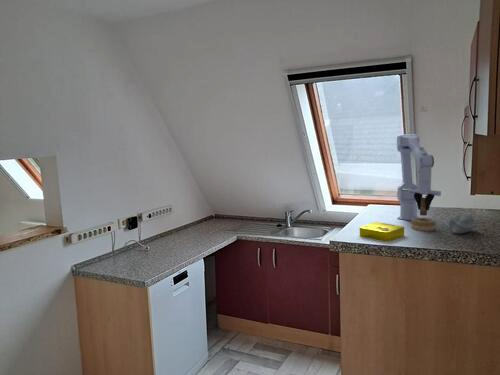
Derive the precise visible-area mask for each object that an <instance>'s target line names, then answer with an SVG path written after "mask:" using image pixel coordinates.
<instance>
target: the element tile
mask: <svg viewBox="0 0 500 375" xmlns="http://www.w3.org/2000/svg"><path fill="white" fill-rule="evenodd" d="M359 237H362V238H366V239H372V240H376V241H381V242H392V241H395V240H398V239H400V238H402V237H405V226H404V225H403V226H402V225H398V224H392V223H386V222H378V221H375V222H372V223H369V224H365V225H362V226H360V227H359Z"/></svg>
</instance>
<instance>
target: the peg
mask: <svg viewBox="0 0 500 375" xmlns="http://www.w3.org/2000/svg"><path fill="white" fill-rule="evenodd" d="M419 215H420V216H428V210H426V197H422V198H420V210H419Z"/></svg>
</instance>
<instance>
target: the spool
mask: <svg viewBox="0 0 500 375" xmlns="http://www.w3.org/2000/svg"><path fill="white" fill-rule="evenodd" d="M448 226H449V229H450V231H451V232H452V233H453V234H456V235H461V234H466V233H469V232H470V231H471V230H473V229H474V226H475V220H474V218H473V216H472V215H471V214H469V213H458V214H454V215H453V216H451V218H450V219H449V224H448Z"/></svg>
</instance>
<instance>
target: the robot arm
mask: <svg viewBox="0 0 500 375" xmlns="http://www.w3.org/2000/svg"><path fill="white" fill-rule="evenodd" d="M396 148H397V152H399V153H400V162H401V173H402V174H401V175H402V178H401V179H402V183H401V184H400V185H398V187H397V193H396V198H397V200H398V201H399V202H400V208H399V209H400V210H399V214H400V216H399V217H397V219H398V220H405V221H412V219H413V218H420V217H419V216H418V210H419V211H420V198H423V196H424V195H425V196H424V198H426V210H427V211H429V210H430V207H431V204H432V201H433V200H434V198H435V196H437V197H441V196H442V191H440V190H432V168H433V167H434V166H435V159H434V157H435V156H434V155H433V154H428V152H427V150H426V149H425V148H424V147H423V146H420V136H419V134H418V133H414V134H413V133H411V134H410V133H409V134H408V133H407V134H398V136H397V138H396ZM411 153H412V154H411ZM411 155H413V158H414V159H415V160H416V162H415V163H416V171H417V185H416V184H415V183H414V181H413V172H412V171H413V169H412V156H411Z"/></svg>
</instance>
